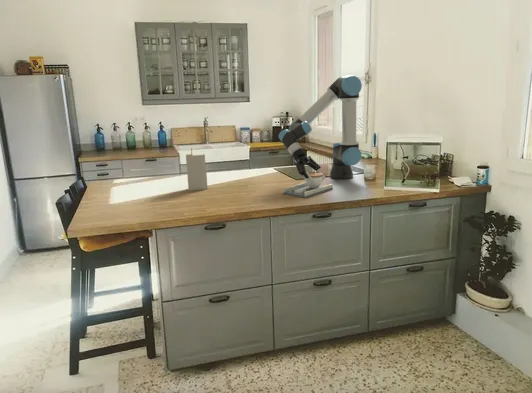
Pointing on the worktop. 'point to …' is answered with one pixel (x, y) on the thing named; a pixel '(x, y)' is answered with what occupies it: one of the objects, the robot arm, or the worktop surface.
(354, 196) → the worktop surface
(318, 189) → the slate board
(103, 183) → the worktop surface
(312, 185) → the lidded jar
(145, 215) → the worktop surface
